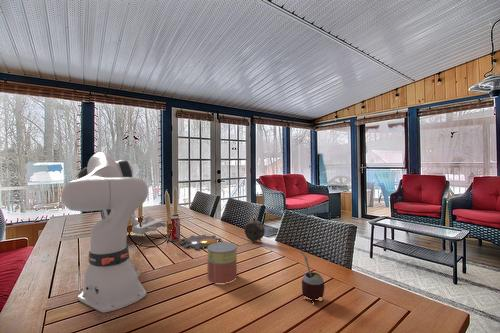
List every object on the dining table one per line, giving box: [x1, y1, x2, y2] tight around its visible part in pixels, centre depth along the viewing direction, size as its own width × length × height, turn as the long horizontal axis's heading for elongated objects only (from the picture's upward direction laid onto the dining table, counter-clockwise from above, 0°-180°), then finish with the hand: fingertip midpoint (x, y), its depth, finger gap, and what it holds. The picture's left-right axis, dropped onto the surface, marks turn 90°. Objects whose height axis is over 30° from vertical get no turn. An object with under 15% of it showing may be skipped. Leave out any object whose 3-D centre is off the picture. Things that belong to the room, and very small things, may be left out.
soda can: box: [166, 215, 181, 242], centre depth 143 cm, size 7×7×13 cm
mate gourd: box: [299, 248, 325, 302], centre depth 82 cm, size 8×8×15 cm
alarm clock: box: [244, 212, 265, 242], centre depth 139 cm, size 11×5×16 cm, turn 58°
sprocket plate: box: [179, 234, 222, 250], centre depth 138 cm, size 22×22×2 cm
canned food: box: [206, 241, 238, 283], centre depth 97 cm, size 11×11×12 cm
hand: (161, 227), depth 145 cm, fingers open, 8 cm apart
